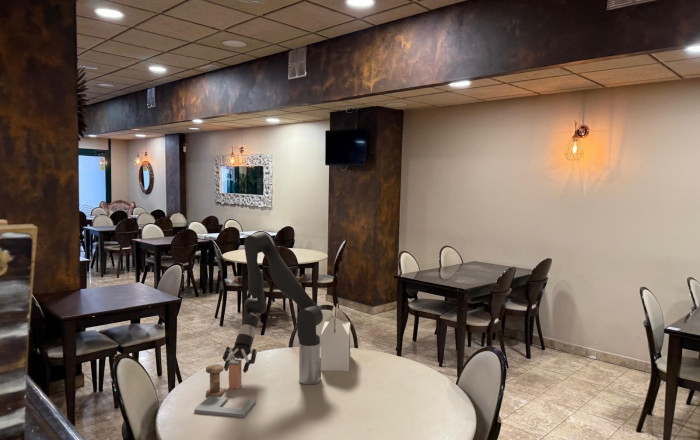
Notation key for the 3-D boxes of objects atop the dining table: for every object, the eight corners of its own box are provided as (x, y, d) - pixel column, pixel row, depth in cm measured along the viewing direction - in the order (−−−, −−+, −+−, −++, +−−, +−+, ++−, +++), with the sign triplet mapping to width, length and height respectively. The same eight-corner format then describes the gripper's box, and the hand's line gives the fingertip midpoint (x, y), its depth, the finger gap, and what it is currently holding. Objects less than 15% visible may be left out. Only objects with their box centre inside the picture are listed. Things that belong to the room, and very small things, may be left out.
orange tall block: (241, 384, 204) (241, 359, 204) (237, 388, 200) (237, 363, 200) (232, 383, 205) (232, 359, 204) (228, 387, 201) (228, 362, 200)
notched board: (255, 403, 186) (255, 400, 186) (243, 417, 175) (243, 414, 174) (209, 398, 190) (209, 396, 190) (194, 412, 178) (194, 409, 178)
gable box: (324, 354, 243) (324, 301, 241) (349, 355, 242) (350, 301, 241) (320, 371, 221) (320, 312, 219) (348, 371, 220) (349, 313, 219)
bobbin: (226, 390, 198) (226, 365, 197) (218, 398, 191) (218, 371, 190) (211, 389, 199) (210, 363, 198) (203, 396, 192) (202, 369, 191)
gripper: (228, 332, 212) (216, 366, 201) (258, 334, 209) (248, 368, 198) (233, 339, 217) (222, 373, 207) (262, 342, 215) (252, 376, 204)
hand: (235, 371), depth 203 cm, fingers open, 8 cm apart
